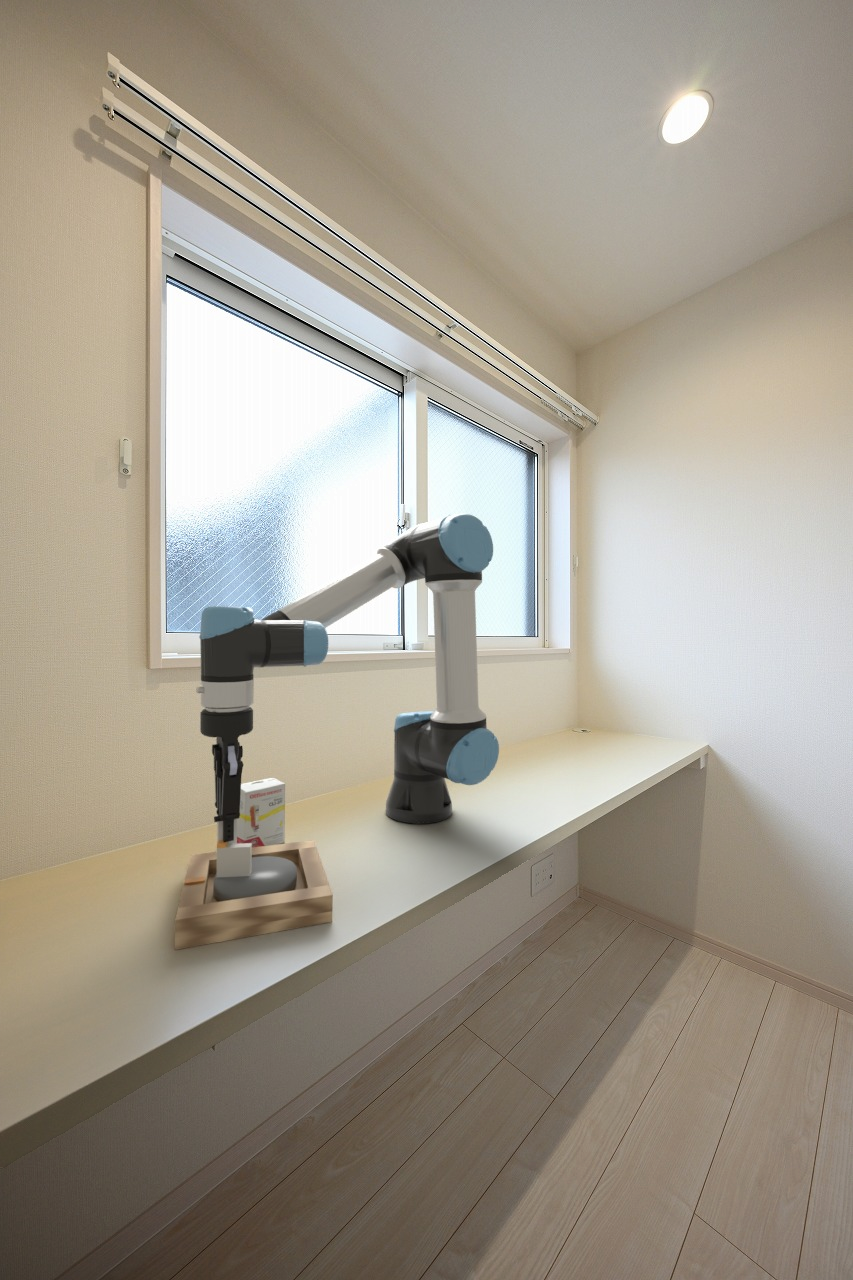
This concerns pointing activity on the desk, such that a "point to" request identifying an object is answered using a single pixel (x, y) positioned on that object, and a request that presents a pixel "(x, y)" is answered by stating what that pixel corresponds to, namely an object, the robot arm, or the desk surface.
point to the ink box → (262, 813)
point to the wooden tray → (252, 900)
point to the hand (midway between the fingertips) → (227, 858)
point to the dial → (250, 873)
